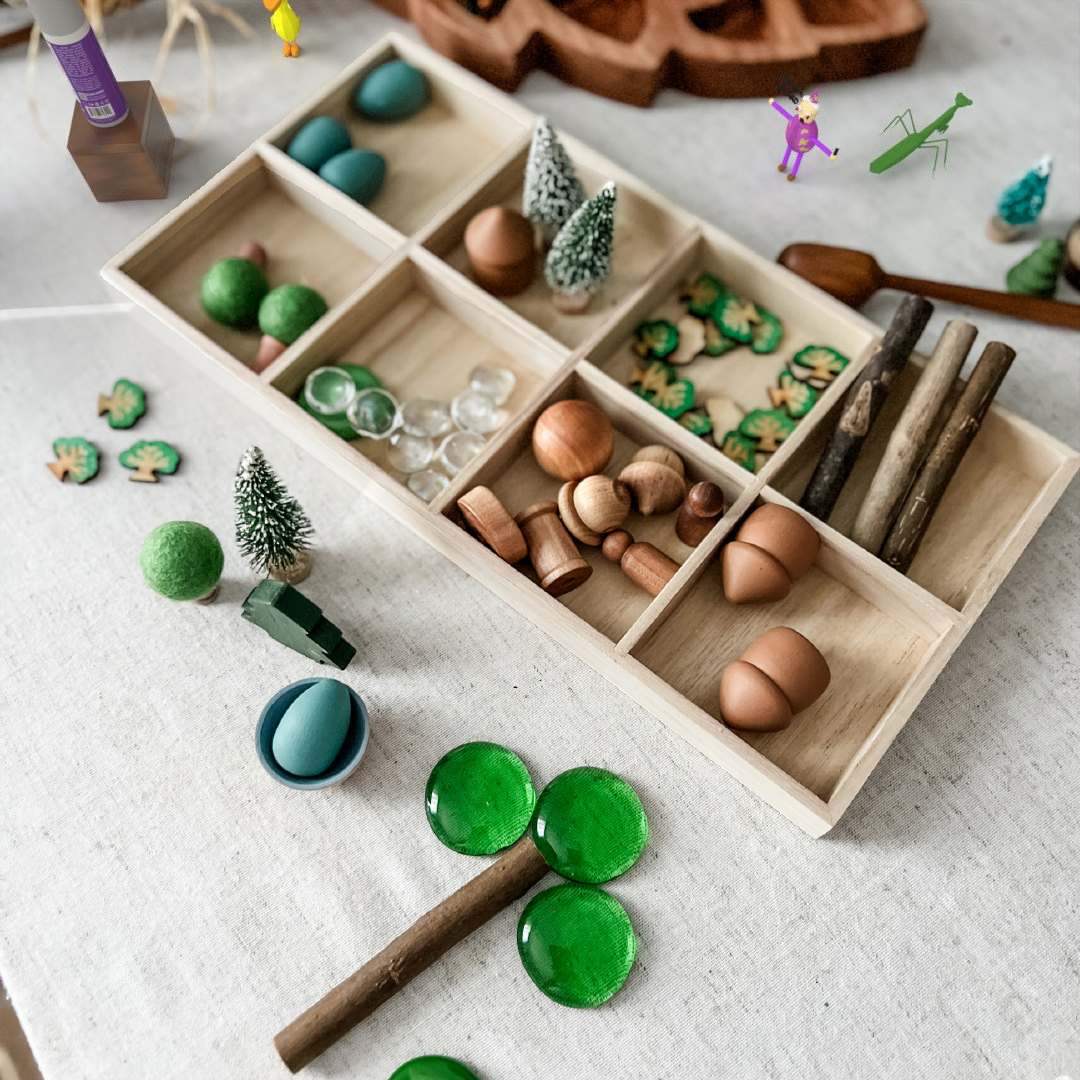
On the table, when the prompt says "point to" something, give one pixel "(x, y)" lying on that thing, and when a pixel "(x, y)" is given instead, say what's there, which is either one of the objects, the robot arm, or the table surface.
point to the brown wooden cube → (125, 148)
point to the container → (81, 60)
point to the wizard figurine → (801, 127)
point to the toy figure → (284, 24)
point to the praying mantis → (917, 138)
